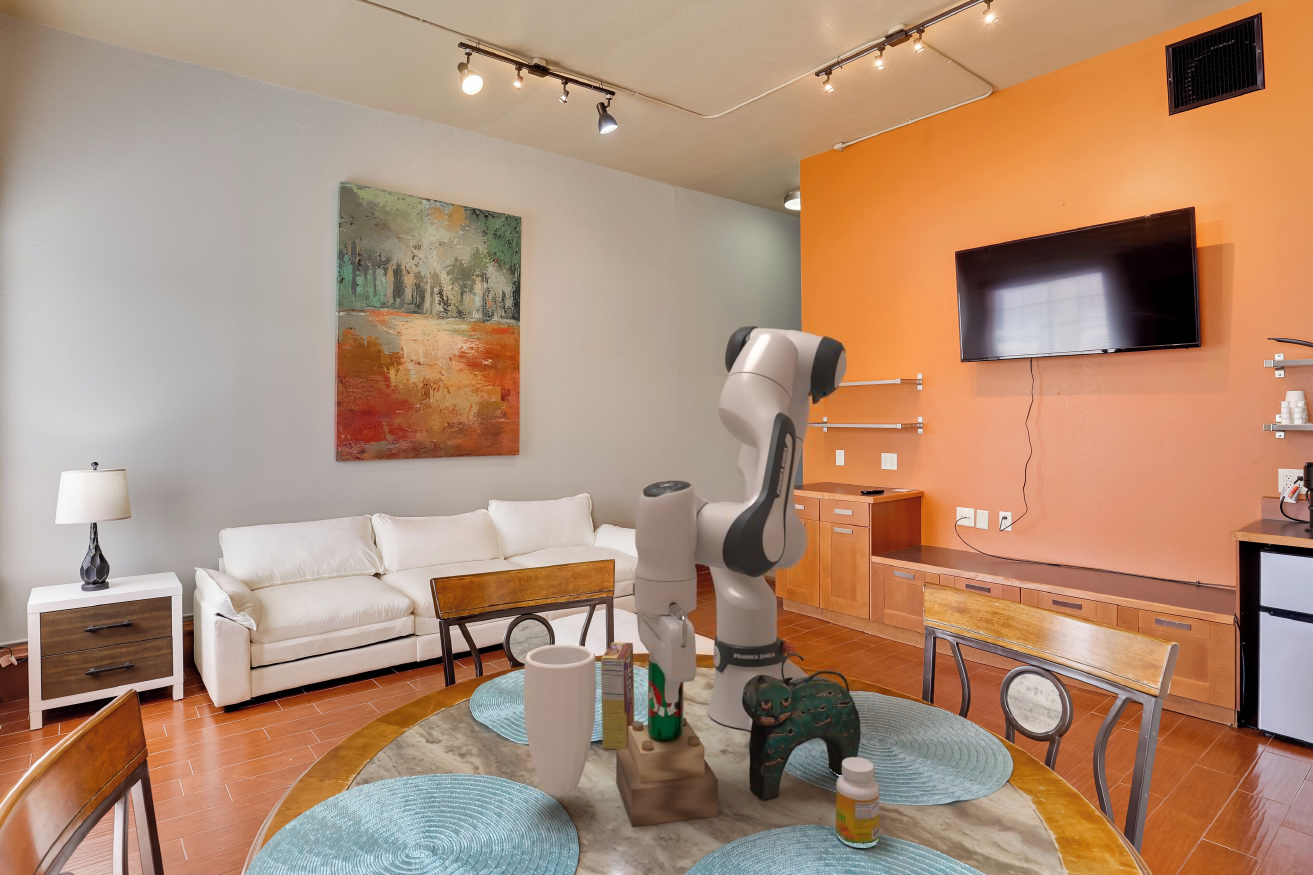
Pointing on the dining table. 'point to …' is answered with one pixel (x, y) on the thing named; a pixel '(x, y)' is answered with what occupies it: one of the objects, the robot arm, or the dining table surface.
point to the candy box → (617, 694)
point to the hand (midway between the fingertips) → (664, 691)
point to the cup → (559, 713)
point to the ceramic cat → (797, 724)
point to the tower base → (665, 795)
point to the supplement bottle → (857, 802)
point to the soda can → (662, 707)
